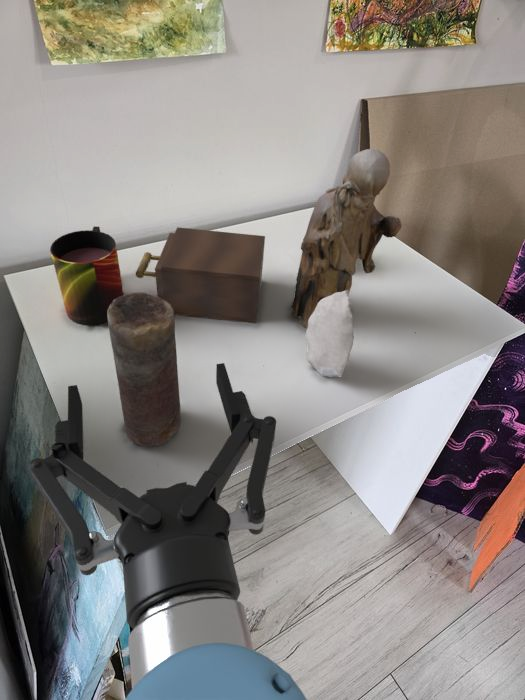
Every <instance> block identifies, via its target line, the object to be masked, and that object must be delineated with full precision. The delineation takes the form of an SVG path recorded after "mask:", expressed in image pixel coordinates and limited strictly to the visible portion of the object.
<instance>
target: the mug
mask: <svg viewBox="0 0 525 700" xmlns="http://www.w3.org/2000/svg"><path fill="white" fill-rule="evenodd" d="M49 251H50V255H51V259H52V262H53V267H54V270H55V273H56V278H57V281H58V282H57V283H58V286H59V289H60V293H61V296H62V297H61V298H62V302H63V304H64V308H65V312H66V316H67V317H68V319H69V320H71V322H73V323H75V324H78V325H81V326H88V327H96V326H103V325H106V324H107V325H108V318H107V310H108V308H109V306H110V304H111V303H112V302H113V300H114V299H116V298H118V297H120V296H123V295H125V294H124V289H123V287H124V286H123V283H122V281H123V280H122V276H121V270H120V269H121V267H120V263H119V256H118V255H119V254H118V250H117V243H116V240H115V239H114V238H113V236H111V235H110V234H107V233H105V232H102V231H101V228H100V226H95V225H94V226H93V227H92V229H91V230H88V229H87V230H86V229H85V230H77V231H72V232H68V233H66V234H63V235H61V236H59V237H58V238H57V239H55V240H54V241H52V243H51V245H50V249H49Z"/></svg>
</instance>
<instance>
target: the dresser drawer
mask: <svg viewBox="0 0 525 700" xmlns="http://www.w3.org/2000/svg"><path fill="white" fill-rule="evenodd" d="M174 234H175V232H169V234H168V237H167V238H166V241H165V243H164V246H163V248H162V251H161V253H160V255H155V254H154V255H153V254H152V253H151V252H148V251H147V252H144V254H143V256H142V258H141V260H140V263H139V264H138V266H137V269H136V271H135V273H134V274H135V277H136V278H138V279H142V278H144V277H151V278H152V277H153V278H155V285H156V296H157V297H159V298H161V299H163V300H164V296H163V284H162V272H161V266H162V264H163V261H164V259H165V256H166V254H167V251H168V249H169V246H170V244H171V241H172V239H173V236H174ZM151 261H157V262H156V264H155V267H154V271H148V270H147V269H148V267H149V265H150V263H151Z"/></svg>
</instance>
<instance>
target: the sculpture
mask: <svg viewBox="0 0 525 700" xmlns="http://www.w3.org/2000/svg"><path fill="white" fill-rule="evenodd" d="M390 165H391V164H390V161H389V159H388V156H387V155H386V154H385V153H384V152H383V151H381V150H379V149H374V148H368V149H367V148H366V149H363V150H361V151H359V152H357V153H355V154H354V155H353V156H352V157H351V158H350V161H349V163H348V165H347V169H346V172H345V173H344V174H343V176H342V184H340V185H336V186H334V187H331V188H327V190H325V192H324V193H323V194H321V195H320V196H319V197H318V198H317V200H316V203H315V205H314V207H313V210H312V213H311V215H310V218H309V221H308V224H307V228H306V232H305V234H304V237H303V239H302V242H301V245H300V250H301V256H300V262H299V266H298V272H297V274H296V279H295V288H294V294H293V295H294V296H293V300H292V304H291V309H292V312H291V313H292V314H291V315H292V316H293V317H294V318H298V317H299V318H300V322H299V323H300V325H301V326H302V327H304V328H306V329H307V328H308V320H309V318H310V317H311V315H312V314H313V312H314V310H315V308H316V306H317V304H318V302H319V301H320V300H322V299H323V298H326V297H328V296H330V295H332V294H334V293H336V292H343V291H346V290H348V291H349V292H351V288H352V285H353V275H355V274H356V272H357V260H358V259H359V260H361V264H362V265H361V266H362V269H363V271H364V273H365V274H372V273H373V272H374V271H375V269H376V265H375V262H374V260H373V255H374V251H375V249H376V248H377V246H378V244H379V243H380V241H381V239H382V237H383V236H384V237H386V238H394V237H396V236H397V234H398V233H399V232H400V230H401V229H402V226H403V224H402V221H401V219H400V217H395V216H392V215H387V216H385V215H383V214H382V213H381V212H379V210H378V209H377V207H376V205H375V204H374V203H375V200H376V197H377V196H378V195H380V193H381V191H383V189H384V188H385V187H386V185H387V183H388V180H389V179H390V178H389V177H390V175H391V166H390Z"/></svg>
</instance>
